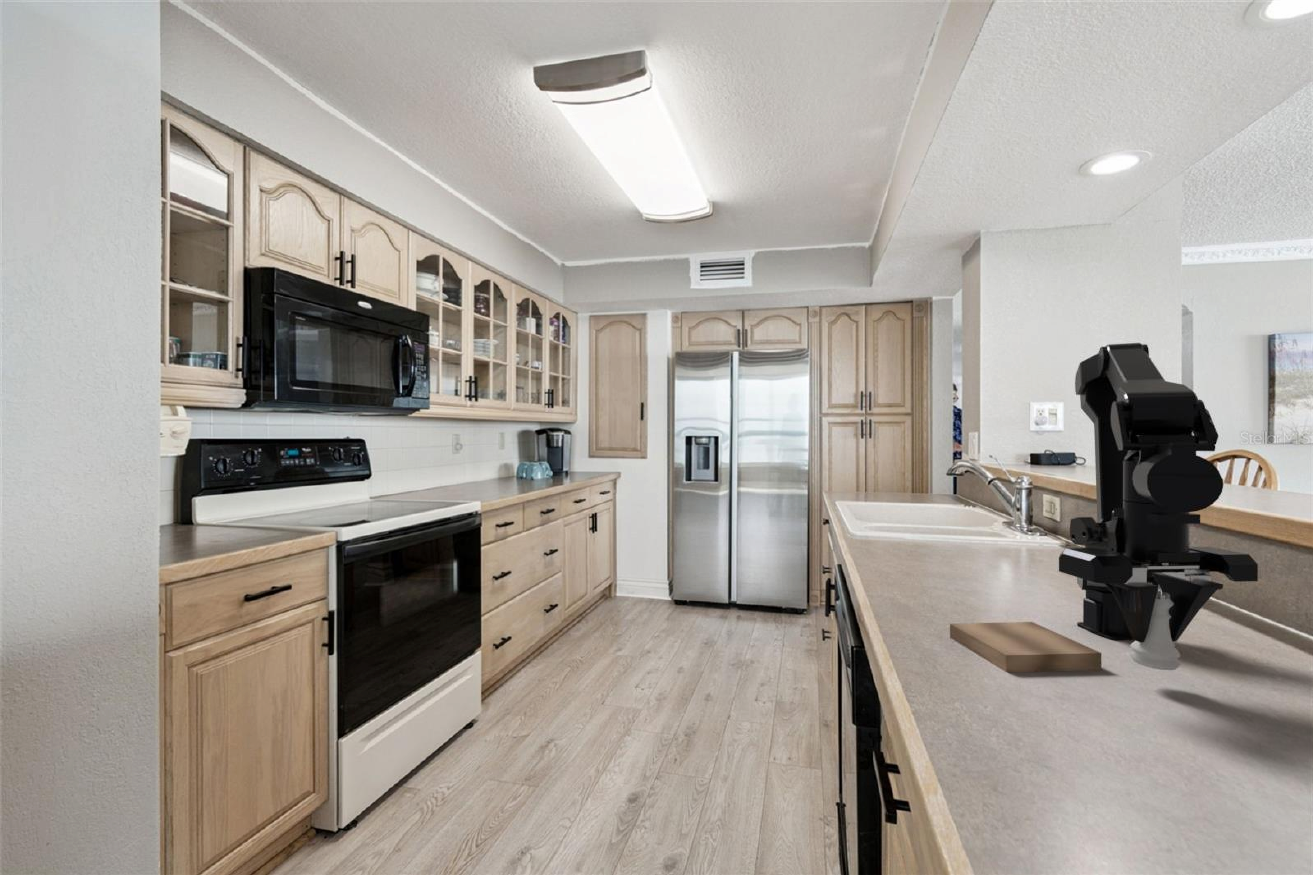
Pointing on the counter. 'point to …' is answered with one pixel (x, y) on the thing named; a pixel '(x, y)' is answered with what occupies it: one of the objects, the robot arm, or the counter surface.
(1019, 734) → the counter surface
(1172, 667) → the rook chess piece
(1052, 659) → the walnut block
